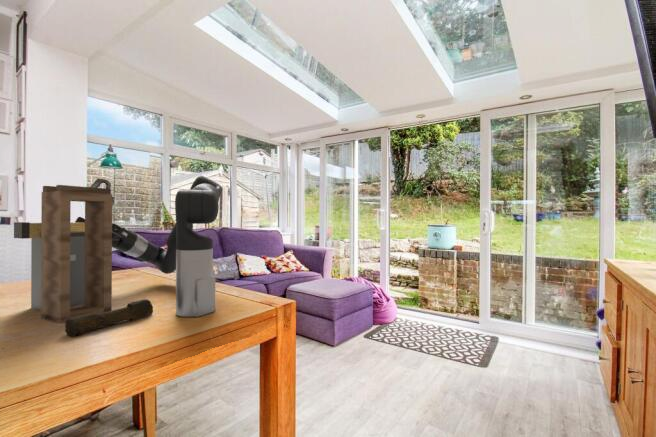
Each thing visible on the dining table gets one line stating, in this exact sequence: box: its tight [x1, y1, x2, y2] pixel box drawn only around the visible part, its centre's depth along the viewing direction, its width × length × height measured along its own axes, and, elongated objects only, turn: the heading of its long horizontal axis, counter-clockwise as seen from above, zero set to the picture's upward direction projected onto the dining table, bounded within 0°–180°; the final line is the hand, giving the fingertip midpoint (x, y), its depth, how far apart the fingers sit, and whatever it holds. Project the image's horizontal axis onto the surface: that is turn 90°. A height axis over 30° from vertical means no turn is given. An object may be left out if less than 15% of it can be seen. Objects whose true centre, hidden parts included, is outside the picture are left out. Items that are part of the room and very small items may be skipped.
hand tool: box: [64, 299, 154, 338], centre depth 78 cm, size 19×4×5 cm, turn 148°
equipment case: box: [30, 232, 85, 311], centre depth 95 cm, size 9×11×21 cm
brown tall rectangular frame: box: [40, 184, 113, 324], centre depth 86 cm, size 9×12×34 cm
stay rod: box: [13, 221, 85, 240], centre depth 96 cm, size 4×22×4 cm, turn 155°
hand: (85, 219), depth 100 cm, fingers open, 8 cm apart
